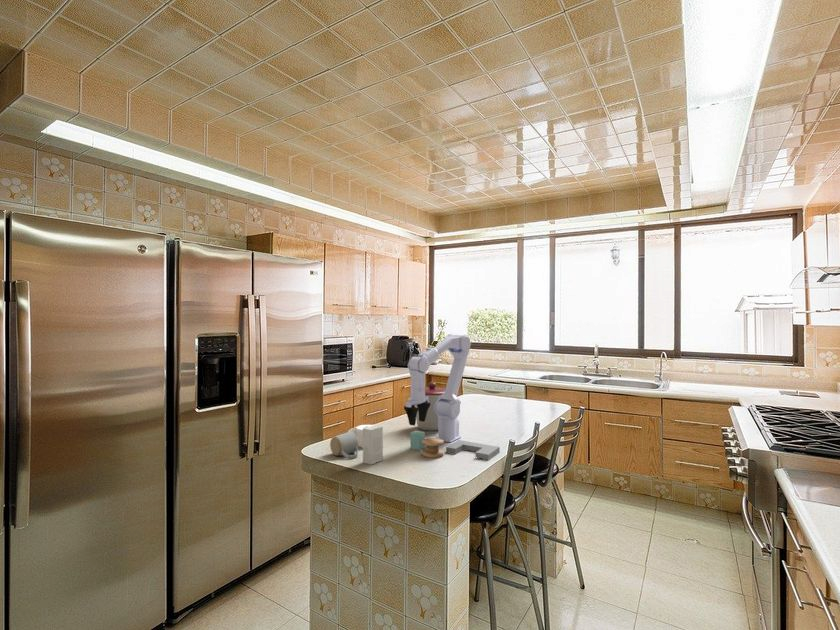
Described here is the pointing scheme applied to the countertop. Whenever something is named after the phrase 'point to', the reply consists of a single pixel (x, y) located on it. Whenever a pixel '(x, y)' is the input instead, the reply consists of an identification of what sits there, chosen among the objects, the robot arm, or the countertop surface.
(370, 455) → the skincare box
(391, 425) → the countertop surface
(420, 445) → the tab block
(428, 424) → the canister
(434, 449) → the bobbin
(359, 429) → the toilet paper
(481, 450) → the gray u-shaped block
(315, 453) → the countertop surface
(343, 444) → the ceramic mug
